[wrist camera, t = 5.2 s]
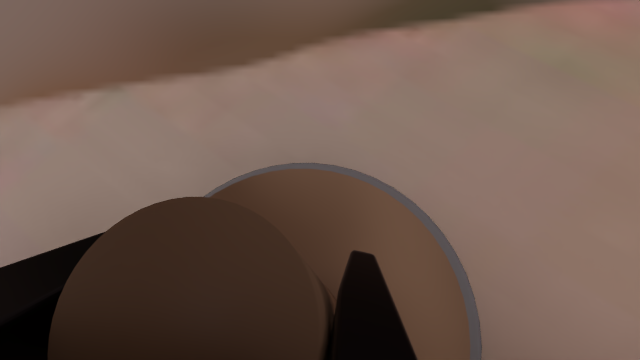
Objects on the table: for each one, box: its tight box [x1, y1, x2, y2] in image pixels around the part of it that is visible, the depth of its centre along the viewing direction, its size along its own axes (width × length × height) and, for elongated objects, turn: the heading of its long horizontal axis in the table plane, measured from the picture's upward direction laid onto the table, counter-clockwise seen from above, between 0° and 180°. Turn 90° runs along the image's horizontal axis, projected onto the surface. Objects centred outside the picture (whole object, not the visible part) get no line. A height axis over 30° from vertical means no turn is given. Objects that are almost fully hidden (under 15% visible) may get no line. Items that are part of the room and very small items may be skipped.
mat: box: [204, 163, 482, 360], centre depth 14 cm, size 11×11×1 cm
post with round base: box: [48, 169, 470, 360], centre depth 9 cm, size 10×10×10 cm
